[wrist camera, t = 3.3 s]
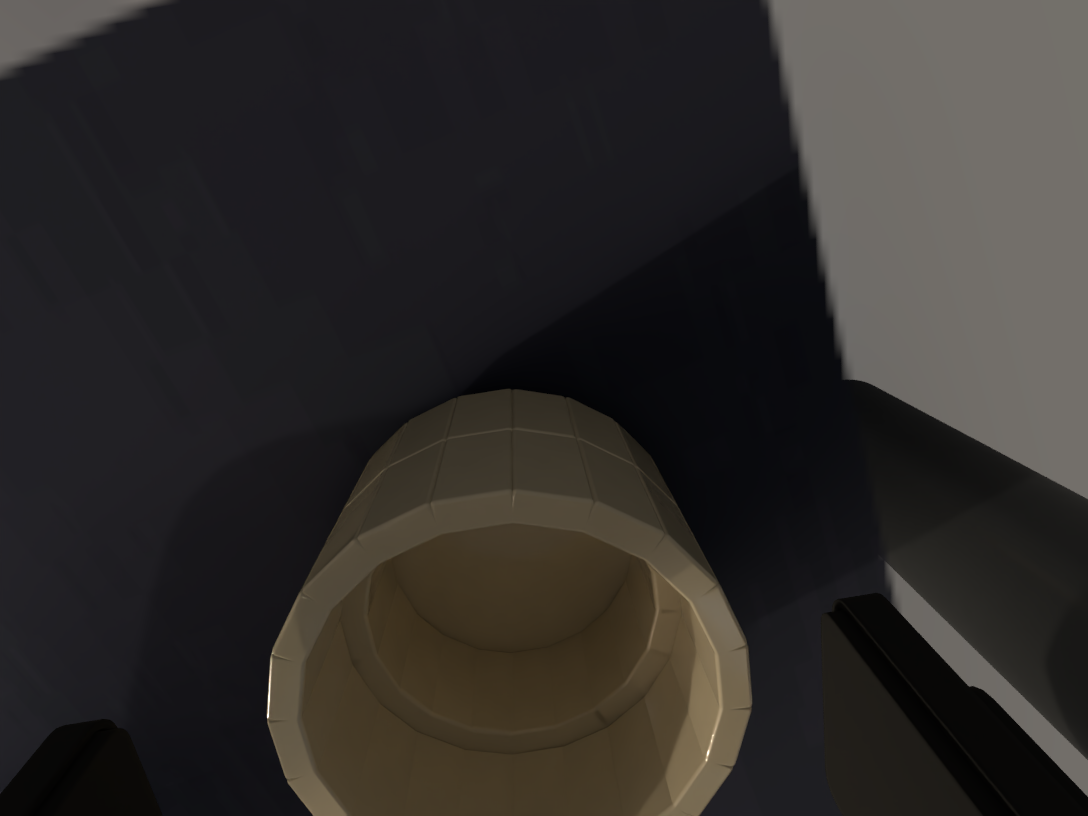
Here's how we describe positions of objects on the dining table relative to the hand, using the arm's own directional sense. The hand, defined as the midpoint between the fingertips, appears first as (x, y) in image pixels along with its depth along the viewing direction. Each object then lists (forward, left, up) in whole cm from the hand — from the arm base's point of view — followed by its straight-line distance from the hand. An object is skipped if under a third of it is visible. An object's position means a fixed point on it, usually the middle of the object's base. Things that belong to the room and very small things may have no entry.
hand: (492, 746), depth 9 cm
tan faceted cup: (0, 0, -6) cm, 6 cm away
